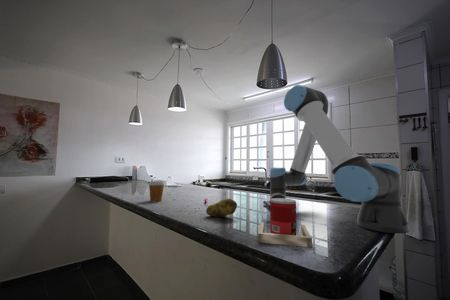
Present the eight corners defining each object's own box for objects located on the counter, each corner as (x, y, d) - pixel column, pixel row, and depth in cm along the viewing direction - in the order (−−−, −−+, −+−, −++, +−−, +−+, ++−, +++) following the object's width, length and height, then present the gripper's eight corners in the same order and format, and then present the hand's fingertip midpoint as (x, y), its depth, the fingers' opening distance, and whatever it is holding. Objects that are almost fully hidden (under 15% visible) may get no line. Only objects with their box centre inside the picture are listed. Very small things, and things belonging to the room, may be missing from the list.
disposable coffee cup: (147, 200, 128) (148, 180, 129) (163, 199, 131) (164, 180, 132) (147, 202, 119) (148, 181, 120) (164, 202, 122) (165, 181, 123)
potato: (216, 213, 95) (216, 195, 95) (239, 218, 87) (240, 198, 88) (203, 216, 88) (204, 197, 89) (228, 222, 80) (228, 201, 81)
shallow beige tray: (304, 232, 68) (304, 225, 69) (312, 247, 56) (311, 238, 56) (260, 229, 72) (260, 221, 72) (258, 242, 59) (258, 233, 59)
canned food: (298, 240, 61) (297, 202, 62) (270, 237, 63) (270, 200, 64) (294, 232, 69) (294, 198, 69) (270, 230, 70) (270, 197, 71)
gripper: (293, 211, 91) (300, 226, 68) (263, 209, 94) (260, 222, 71) (293, 194, 92) (300, 202, 69) (263, 193, 95) (260, 200, 72)
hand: (279, 213), depth 70 cm, fingers closed
